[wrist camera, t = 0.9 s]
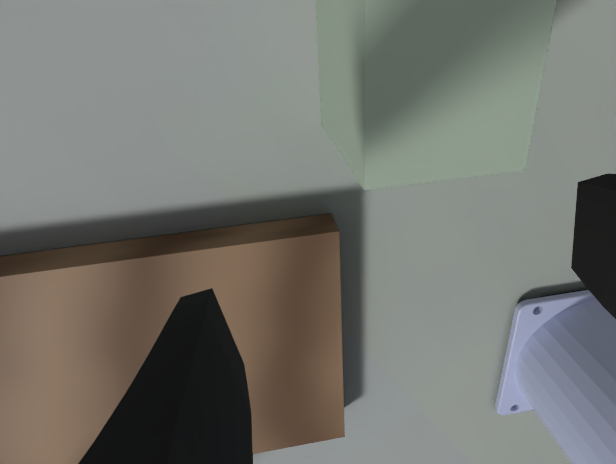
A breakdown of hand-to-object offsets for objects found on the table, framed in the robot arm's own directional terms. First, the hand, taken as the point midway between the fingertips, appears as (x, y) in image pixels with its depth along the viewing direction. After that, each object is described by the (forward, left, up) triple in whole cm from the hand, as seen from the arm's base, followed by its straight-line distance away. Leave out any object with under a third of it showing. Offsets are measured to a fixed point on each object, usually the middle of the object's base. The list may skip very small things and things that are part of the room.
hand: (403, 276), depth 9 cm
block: (-2, -2, -10) cm, 10 cm away
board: (+8, +10, -10) cm, 16 cm away
